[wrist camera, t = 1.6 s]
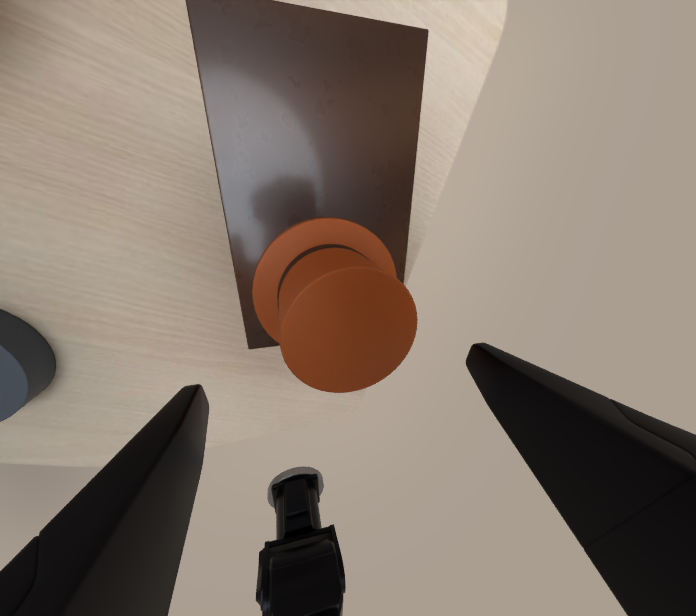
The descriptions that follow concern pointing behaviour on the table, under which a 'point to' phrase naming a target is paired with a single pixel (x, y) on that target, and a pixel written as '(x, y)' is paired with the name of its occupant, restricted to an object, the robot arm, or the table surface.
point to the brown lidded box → (307, 124)
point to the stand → (22, 364)
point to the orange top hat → (334, 304)
